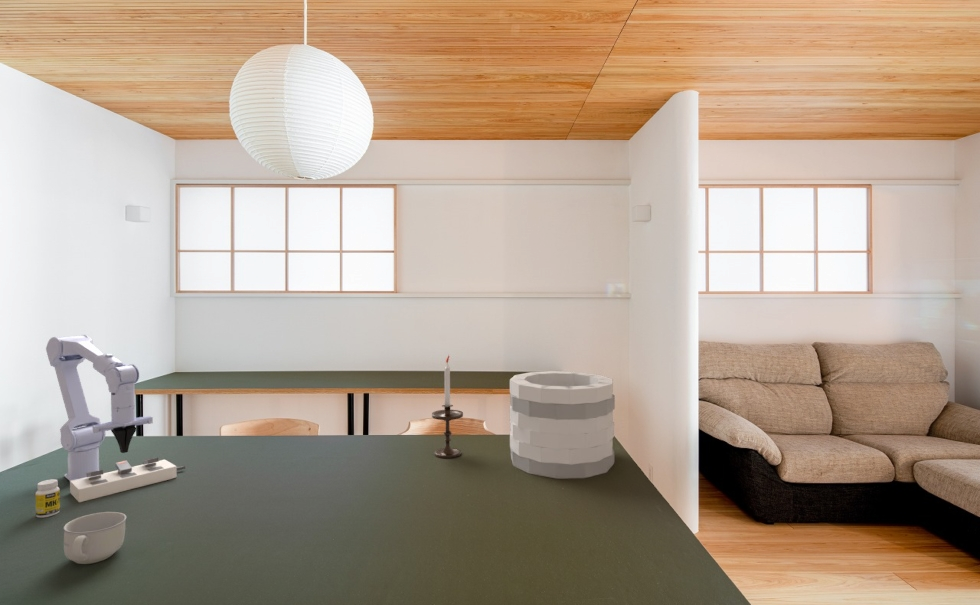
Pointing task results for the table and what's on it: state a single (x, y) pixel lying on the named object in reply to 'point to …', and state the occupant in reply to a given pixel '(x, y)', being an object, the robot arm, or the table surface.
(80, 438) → the robot arm
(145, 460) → the block
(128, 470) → the block
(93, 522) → the teacup
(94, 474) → the rocker
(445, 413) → the candlestick
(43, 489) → the supplement bottle
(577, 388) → the storage basket
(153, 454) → the table surface
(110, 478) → the power strip
